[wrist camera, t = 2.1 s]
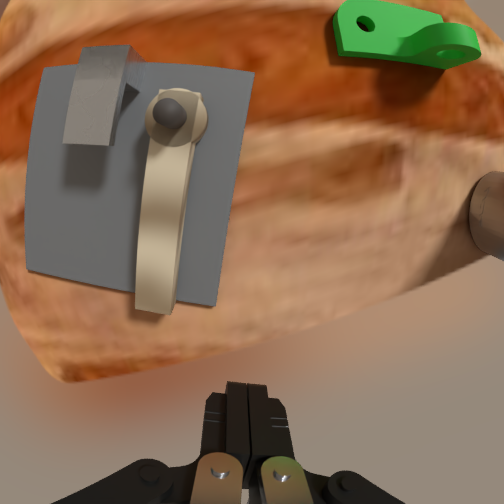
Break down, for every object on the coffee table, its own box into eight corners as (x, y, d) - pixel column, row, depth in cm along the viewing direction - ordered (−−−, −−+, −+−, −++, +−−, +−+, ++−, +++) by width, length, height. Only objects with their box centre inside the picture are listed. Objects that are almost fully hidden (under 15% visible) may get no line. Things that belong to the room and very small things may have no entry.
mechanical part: (431, 21, 21) (475, -4, 13) (443, 70, 23) (493, 54, 15) (326, 3, 21) (353, -40, 13) (336, 57, 23) (371, 24, 15)
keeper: (146, 62, 21) (130, 44, 17) (130, 147, 23) (108, 145, 19) (105, 62, 21) (82, 47, 16) (88, 144, 23) (62, 143, 18)
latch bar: (158, 92, 21) (140, 77, 17) (213, 98, 22) (207, 82, 17) (135, 295, 26) (116, 322, 21) (183, 304, 26) (173, 333, 22)
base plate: (254, 76, 23) (254, 72, 22) (216, 301, 28) (215, 306, 27) (49, 69, 21) (44, 67, 20) (31, 266, 26) (26, 269, 25)
